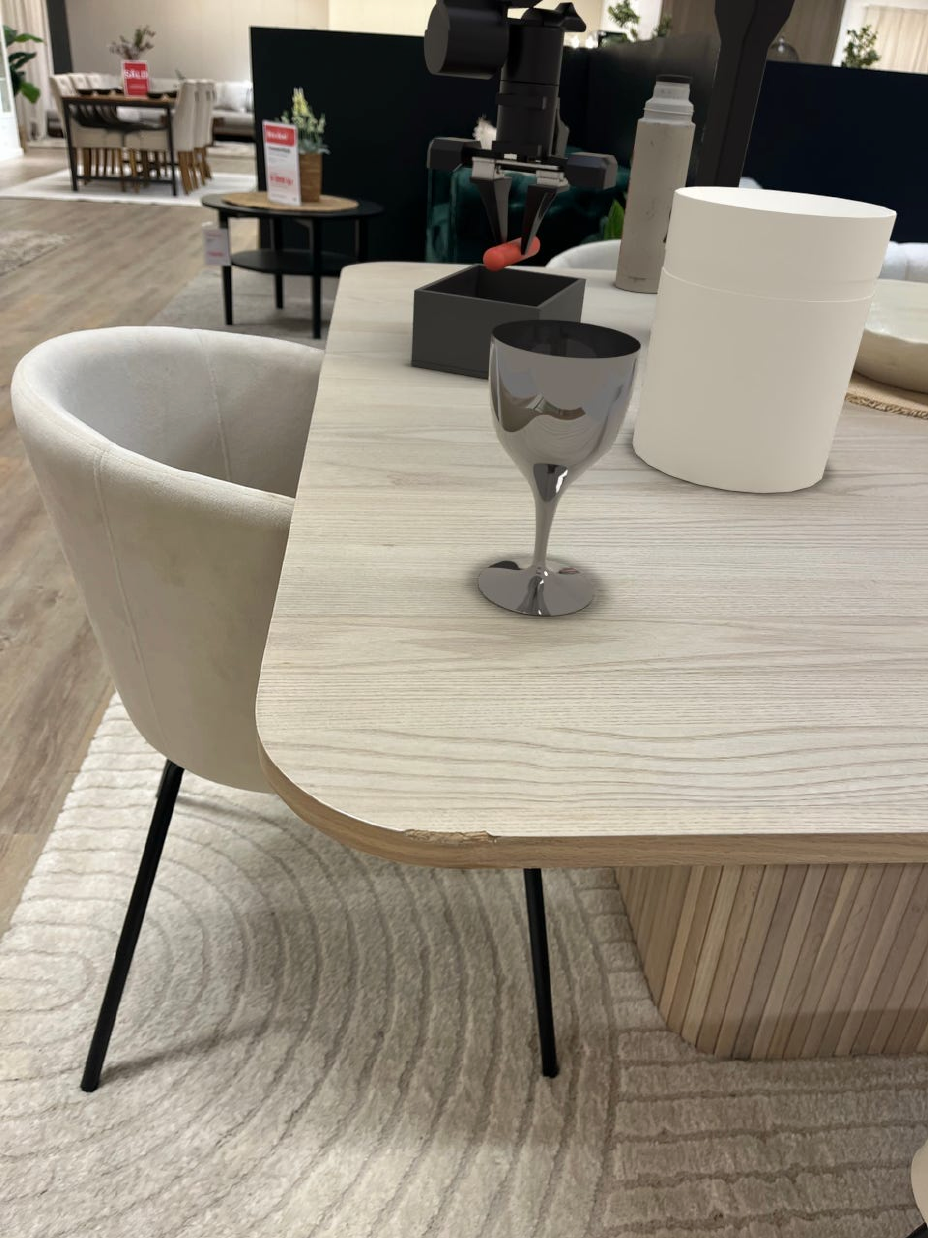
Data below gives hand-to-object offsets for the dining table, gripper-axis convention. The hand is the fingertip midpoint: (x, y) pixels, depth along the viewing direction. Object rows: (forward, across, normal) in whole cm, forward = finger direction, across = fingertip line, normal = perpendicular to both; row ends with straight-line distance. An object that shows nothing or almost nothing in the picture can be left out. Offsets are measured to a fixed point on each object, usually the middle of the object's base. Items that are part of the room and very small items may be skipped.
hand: (512, 252), depth 98 cm
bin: (+10, 0, +2) cm, 11 cm away
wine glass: (+11, -20, +51) cm, 56 cm away
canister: (+10, -27, +21) cm, 36 cm away
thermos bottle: (+10, -6, -48) cm, 50 cm away
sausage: (+1, 0, 0) cm, 1 cm away
